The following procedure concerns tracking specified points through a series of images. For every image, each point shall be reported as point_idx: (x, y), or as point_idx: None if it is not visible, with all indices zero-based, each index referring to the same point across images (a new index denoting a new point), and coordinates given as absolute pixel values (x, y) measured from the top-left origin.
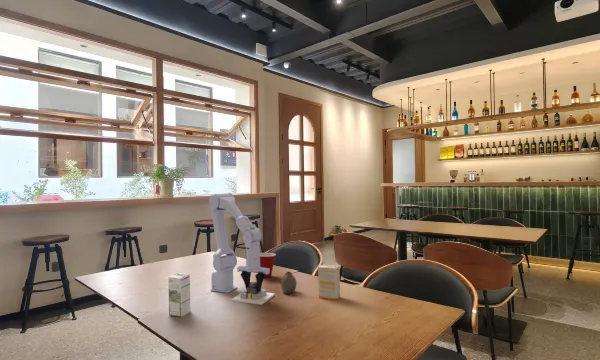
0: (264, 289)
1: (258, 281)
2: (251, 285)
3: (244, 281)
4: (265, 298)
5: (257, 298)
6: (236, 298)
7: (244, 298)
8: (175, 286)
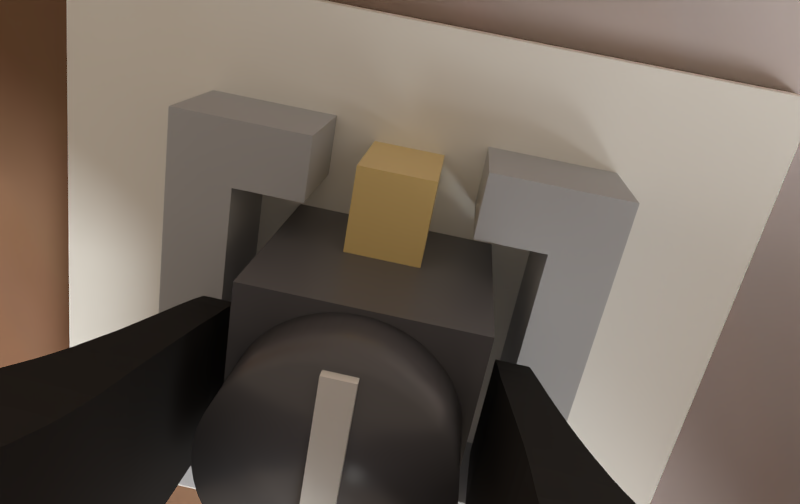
0: (186, 476)
1: (15, 381)
2: (335, 346)
3: (601, 488)
4: (108, 210)
5: (198, 96)
6: (704, 145)
7: (518, 154)
8: None
